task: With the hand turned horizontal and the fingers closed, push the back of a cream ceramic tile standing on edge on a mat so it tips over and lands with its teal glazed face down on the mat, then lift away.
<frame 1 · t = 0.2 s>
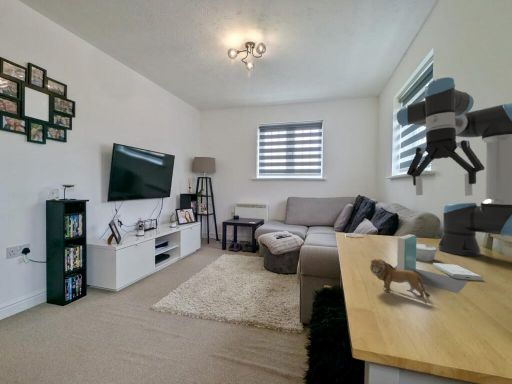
hand: (442, 195, 77), 27 cm above the table, tool pointing down, fingers open, 13 cm apart
lion figurine: (396, 293, 67), on the table
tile: (406, 272, 82), resting on mat
mat: (423, 278, 78), on the table
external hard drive: (455, 274, 82), on the table, touching mat
ramekin: (419, 258, 101), on the table
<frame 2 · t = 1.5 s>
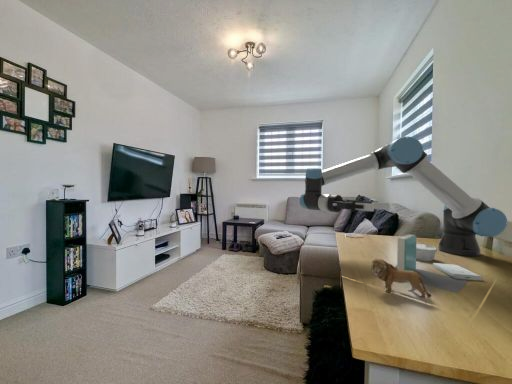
hand: (381, 207, 88), 23 cm above the table, tool horizontal, fingers open, 13 cm apart
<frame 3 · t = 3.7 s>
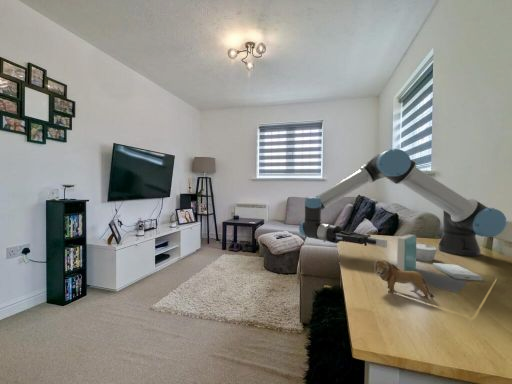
hand: (386, 243, 87), 9 cm above the table, tool horizontal, fingers closed
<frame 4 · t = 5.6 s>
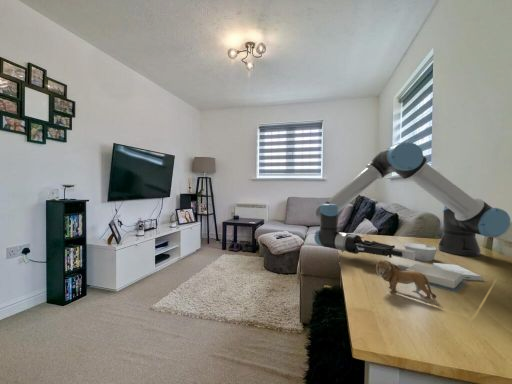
hand: (413, 255, 80), 7 cm above the table, tool horizontal, fingers closed
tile: (411, 270, 81), point 2 cm above the table, tilted 90°, touching mat
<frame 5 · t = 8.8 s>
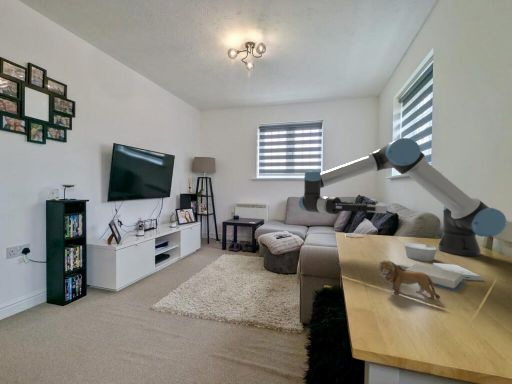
hand: (385, 209, 88), 22 cm above the table, tool horizontal, fingers closed
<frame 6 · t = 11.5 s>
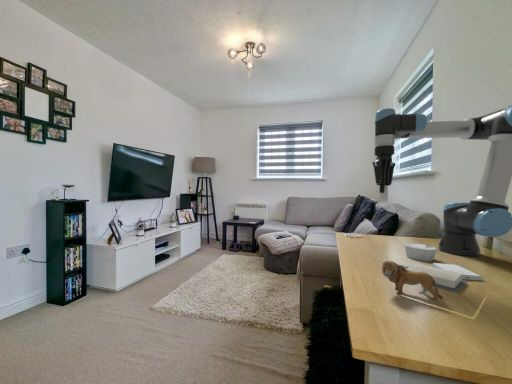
hand: (383, 200, 103), 24 cm above the table, tool pointing down, fingers closed
at the end: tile tilted 90°; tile 1.6 cm from the target spot on the mat, point 1.7 cm above the mat's base; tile touching mat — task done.
